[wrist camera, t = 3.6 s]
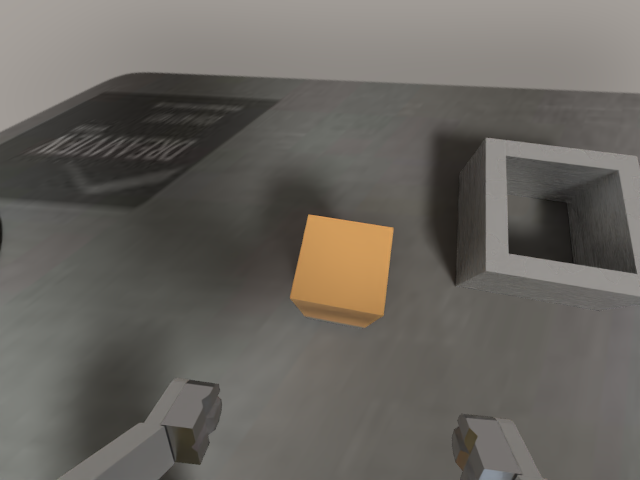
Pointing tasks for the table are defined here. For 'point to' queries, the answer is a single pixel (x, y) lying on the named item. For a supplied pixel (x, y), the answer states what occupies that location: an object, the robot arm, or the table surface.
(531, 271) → the white shallow box
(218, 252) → the table surface
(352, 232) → the plug
